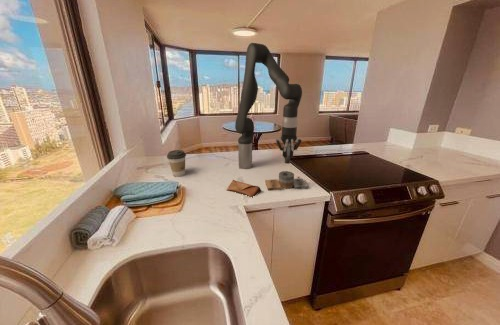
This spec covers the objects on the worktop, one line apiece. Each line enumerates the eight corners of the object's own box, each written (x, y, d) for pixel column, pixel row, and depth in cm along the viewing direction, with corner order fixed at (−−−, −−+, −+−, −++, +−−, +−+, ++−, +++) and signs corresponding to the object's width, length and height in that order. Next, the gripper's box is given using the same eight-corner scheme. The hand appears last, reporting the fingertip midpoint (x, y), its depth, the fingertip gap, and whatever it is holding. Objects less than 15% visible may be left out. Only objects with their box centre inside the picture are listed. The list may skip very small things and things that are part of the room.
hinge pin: (285, 163, 113) (286, 142, 109) (284, 161, 116) (285, 140, 112) (290, 163, 114) (291, 141, 109) (289, 161, 116) (290, 140, 112)
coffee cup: (183, 179, 128) (179, 155, 123) (166, 177, 130) (162, 154, 125) (191, 171, 138) (189, 149, 133) (175, 170, 141) (172, 148, 135)
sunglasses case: (224, 190, 115) (227, 178, 115) (230, 191, 121) (233, 179, 122) (253, 198, 107) (256, 185, 107) (258, 199, 113) (261, 186, 114)
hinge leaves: (267, 190, 114) (268, 178, 112) (265, 182, 124) (265, 171, 121) (307, 188, 116) (309, 177, 114) (302, 180, 125) (303, 169, 123)
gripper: (300, 123, 112) (298, 154, 118) (274, 124, 110) (273, 155, 117) (305, 126, 105) (302, 159, 111) (277, 127, 104) (276, 160, 110)
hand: (287, 157), depth 114 cm, fingers closed on hinge pin, 2 cm apart
